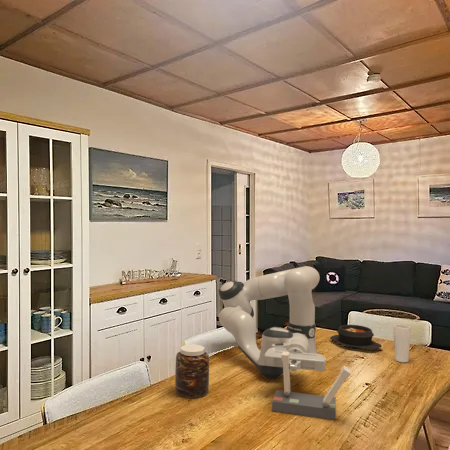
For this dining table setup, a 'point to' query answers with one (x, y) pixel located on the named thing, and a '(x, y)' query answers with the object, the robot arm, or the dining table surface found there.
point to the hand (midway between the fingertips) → (292, 368)
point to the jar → (192, 372)
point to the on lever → (336, 385)
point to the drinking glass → (402, 342)
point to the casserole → (356, 337)
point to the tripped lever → (286, 372)
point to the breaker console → (303, 405)
